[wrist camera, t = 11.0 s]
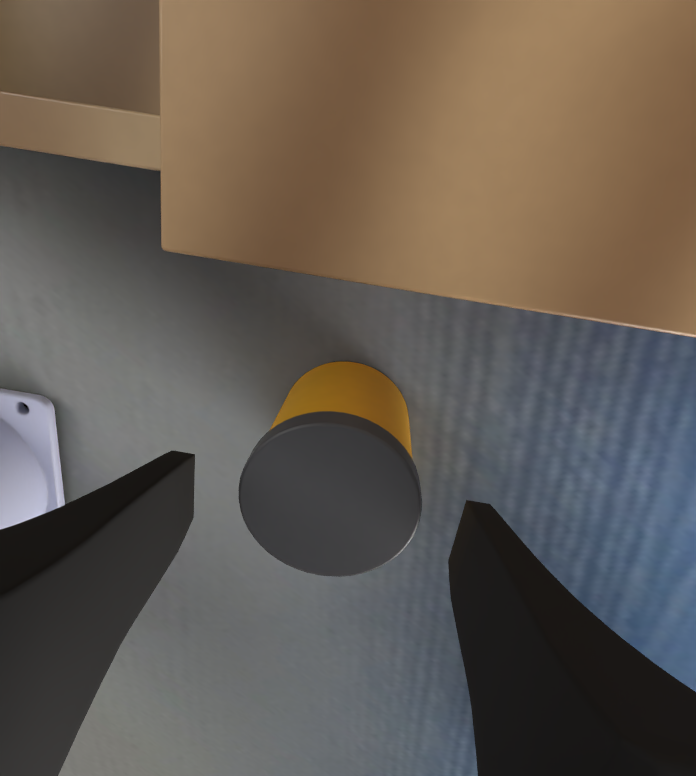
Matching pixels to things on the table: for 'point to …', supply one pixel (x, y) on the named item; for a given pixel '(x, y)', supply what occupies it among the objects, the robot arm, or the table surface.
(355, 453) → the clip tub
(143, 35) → the drawer
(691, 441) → the table surface
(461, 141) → the cabinet
